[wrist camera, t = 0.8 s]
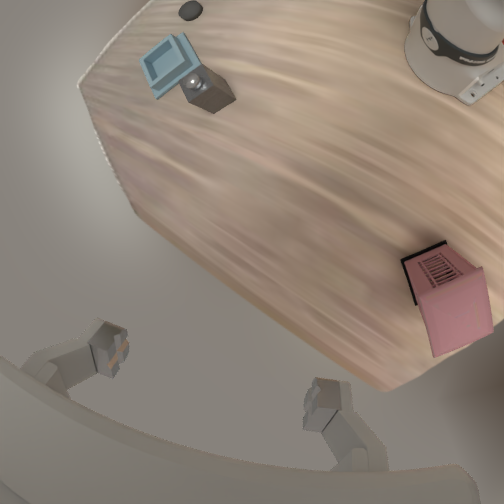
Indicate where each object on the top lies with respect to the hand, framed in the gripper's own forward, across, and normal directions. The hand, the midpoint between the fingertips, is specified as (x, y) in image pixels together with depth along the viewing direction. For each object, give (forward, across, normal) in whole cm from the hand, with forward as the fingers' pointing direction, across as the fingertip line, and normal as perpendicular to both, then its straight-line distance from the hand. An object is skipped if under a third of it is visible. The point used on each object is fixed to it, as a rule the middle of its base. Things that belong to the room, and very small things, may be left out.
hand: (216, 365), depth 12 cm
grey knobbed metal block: (+47, +14, -12) cm, 50 cm away
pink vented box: (+33, -28, +7) cm, 44 cm away
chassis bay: (+52, +27, -19) cm, 61 cm away
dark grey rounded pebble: (+54, +26, -32) cm, 68 cm away
